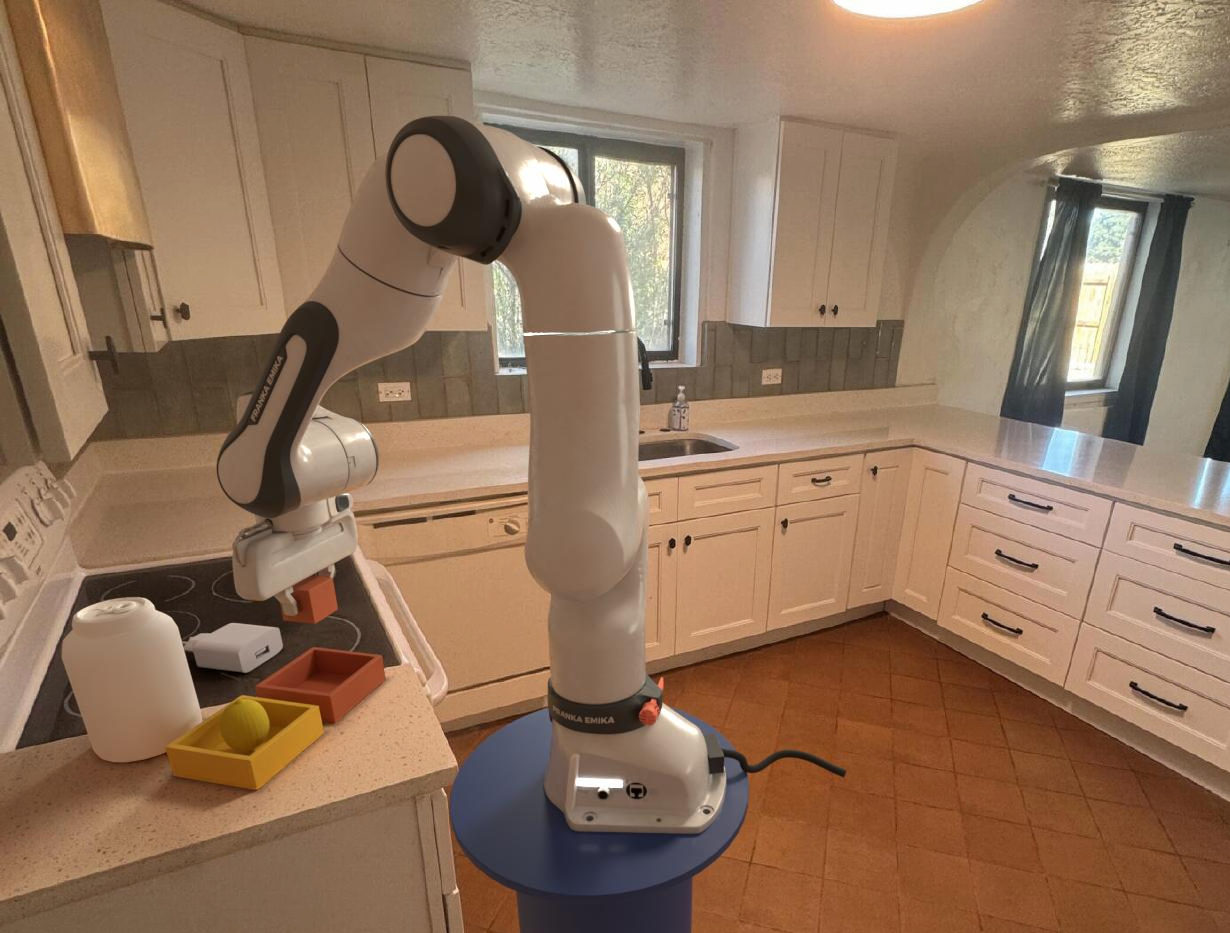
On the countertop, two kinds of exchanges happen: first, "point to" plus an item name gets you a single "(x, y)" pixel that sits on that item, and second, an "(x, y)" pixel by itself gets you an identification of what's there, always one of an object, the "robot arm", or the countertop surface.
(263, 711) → the lemon
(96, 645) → the can
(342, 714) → the terracotta bin
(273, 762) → the yellow bin
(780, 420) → the countertop surface
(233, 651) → the charger
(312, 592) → the block
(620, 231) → the robot arm
